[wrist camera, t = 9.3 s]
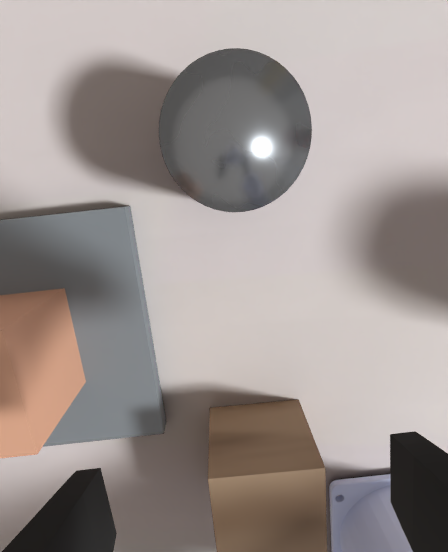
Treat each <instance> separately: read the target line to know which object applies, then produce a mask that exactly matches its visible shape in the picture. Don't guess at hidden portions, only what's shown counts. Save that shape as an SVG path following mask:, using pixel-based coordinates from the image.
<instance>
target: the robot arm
mask: <svg viewBox="0 0 448 552" xmlns="http://www.w3.org/2000/svg"><path fill="white" fill-rule="evenodd" d="M338 495H340V496H338ZM329 496H330V523H331V550H332V552H448V454H447V453H446V452H444V451H443V450H442V449H440V448H439V447H437V446H436V445H434V444H433V443H432V442H430V441H429V440H427V439H426V438H424V437H423V436H421V435H420V434H418V433H417V432H407V433H398V434H390V474H386V475H377V476H368V477H358V478H349V479H340V480H334V481H333V482H331V484H330V486H329ZM115 539H116V530H115V526H114V521H113V517H112V513H111V509H110V505H109V501H108V497H107V493H106V489H105V485H104V480H103V476H102V472H101V468H97V469H89V470H80V471H76V472H75V473H74V474H73V475H72V476H71V477H70V478H69V479H68V480H67V481H66V482H65V483H64V484H63V486H62V487H61V488H60V489H59V490H58V491H57V492H56V493H55V494H54V496H53V497H52V498H51V499H50V500H49V501H48V502H47V503H46V504H45V505H44V507H43V508H42V509H41V510H40V511H39V512H38V513H37V514H36V515H35V517H34V518H33V519H32V520H31V521H30V522H29V523H28V524H27V525H26V526H25V527H24V528H23V530H22V531H21V532H20V533H19V534H18V535H17V536H16V537H15V538H14V539H13V540H12V541H11V543H10V544H9V545H8V546H7V547H6V548H5V549H4V550H3V551H2V552H113V549H114V544H115Z"/></svg>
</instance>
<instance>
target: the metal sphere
mask: <svg viewBox="0 0 448 552" xmlns="http://www.w3.org/2000/svg"><path fill="white" fill-rule="evenodd" d="M311 131H312V125H311V116H310V111H309V107H308V104H307V101H306V98H305V95H304V93H303V91H302V90H301V88H300V86H299V84H298V83H297V81H296V80H295V78H294V77H293V76H292V75H291V74H290V73H289V72H288V70H287V69H286V68H284V67H283V66H282V65H281V64H280V63H278V62H277V61H275V60H274V59H272V58H270V57H269V56H266V55H264V54H262V53H259V52H256V51H252V50H248V49H239V48H236V49H224V50H219V51H215V52H212V53H209V54H207V55H205V56H203V57H201V58H199V59H197V60H196V61H194V62H193V63H192V64H190V65H189V66H188V67H187V68H186V69H185V70H183V71H182V72H181V74H180V75H179V76H178V77H177V78H176V80H175V81H174V83H173V84H172V86H171V87H170V89H169V91H168V93H167V95H166V98H165V100H164V103H163V106H162V110H161V115H160V121H159V140H160V147H161V151H162V155H163V158H164V161H165V164H166V166H167V168H168V170H169V172H170V174H171V175H172V177H173V178H174V180H175V182H176V183H177V184H178V185H179V186H180V187H181V189H182V190H183V191H185V192H186V193H187V194H188V195H189V196H190V197H192V198H193V199H194V200H196V201H197V202H199V203H201V204H203V205H205V206H207V207H210V208H213V209H216V210H220V211H226V212H244V211H250V210H254V209H257V208H260V207H263V206H265V205H267V204H269V203H271V202H272V201H274V200H276V199H277V198H279V197H280V196H281V195H282V194H283V193H285V192H286V191H287V190H288V189H289V187H290V186H291V185H292V184H293V183H294V181H295V180H296V179H297V177H298V176H299V174H300V172H301V170H302V169H303V167H304V164H305V162H306V159H307V156H308V153H309V149H310V143H311Z"/></svg>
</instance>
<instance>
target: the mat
mask: <svg viewBox="0 0 448 552" xmlns="http://www.w3.org/2000/svg"><path fill="white" fill-rule="evenodd" d="M63 288H65V292H66V296H67V301H68V305H69V309H70V314H71V318H72V323H73V327H74V331H75V336H76V340H77V345H78V349H79V353H80V358H81V362H82V367H83V371H84V375H85V380H86V382H85V384H84V385H83V387H82V388H81V390H80V391H79V393H78V394H77V396H76V397H75V399H74V400H73V402H72V403H71V405H70V406H69V408H68V409H67V411H66V412H65V414H64V415H63V417H62V418H61V420H60V421H59V423H58V424H57V426H56V427H55V429H54V430H53V432H52V433H51V435H50V436H49V438H48V439H47V441H46V442H45V444H44V445H43V446H53V445H62V444H71V443H81V442H90V441H99V440H109V439H118V438H127V437H136V436H146V435H155V434H164V430H165V425H166V417H165V411H164V405H163V399H162V393H161V387H160V381H159V376H158V370H157V364H156V358H155V352H154V346H153V340H152V334H151V328H150V322H149V316H148V310H147V304H146V298H145V292H144V286H143V280H142V275H141V269H140V263H139V257H138V251H137V245H136V239H135V233H134V227H133V221H132V215H131V209H130V206H125V207H115V208H106V209H97V210H88V211H78V212H69V213H60V214H51V215H41V216H32V217H23V218H14V219H4V220H0V295H8V294H17V293H26V292H35V291H45V290H54V289H63Z"/></svg>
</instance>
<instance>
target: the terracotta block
mask: <svg viewBox="0 0 448 552" xmlns="http://www.w3.org/2000/svg"><path fill="white" fill-rule="evenodd" d="M85 382H86V380H85V375H84V371H83V367H82V362H81V358H80V353H79V349H78V345H77V340H76V336H75V331H74V327H73V323H72V318H71V314H70V309H69V305H68V301H67V296H66V292H65V288H63V289H54V290H45V291H35V292H26V293H17V294H8V295H0V458H8V457H17V456H26V455H35V454H38V453H39V451H40V450H41V448H42V447H43V445H44V444H45V442H46V441H47V439H48V438H49V436H50V435H51V433H52V432H53V430H54V429H55V427H56V426H57V424H58V423H59V421H60V420H61V418H62V417H63V415H64V414H65V412H66V411H67V409H68V408H69V406H70V405H71V403H72V402H73V400H74V399H75V397H76V396H77V394H78V393H79V391H80V390H81V388H82V387H83V385H84V384H85Z"/></svg>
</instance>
